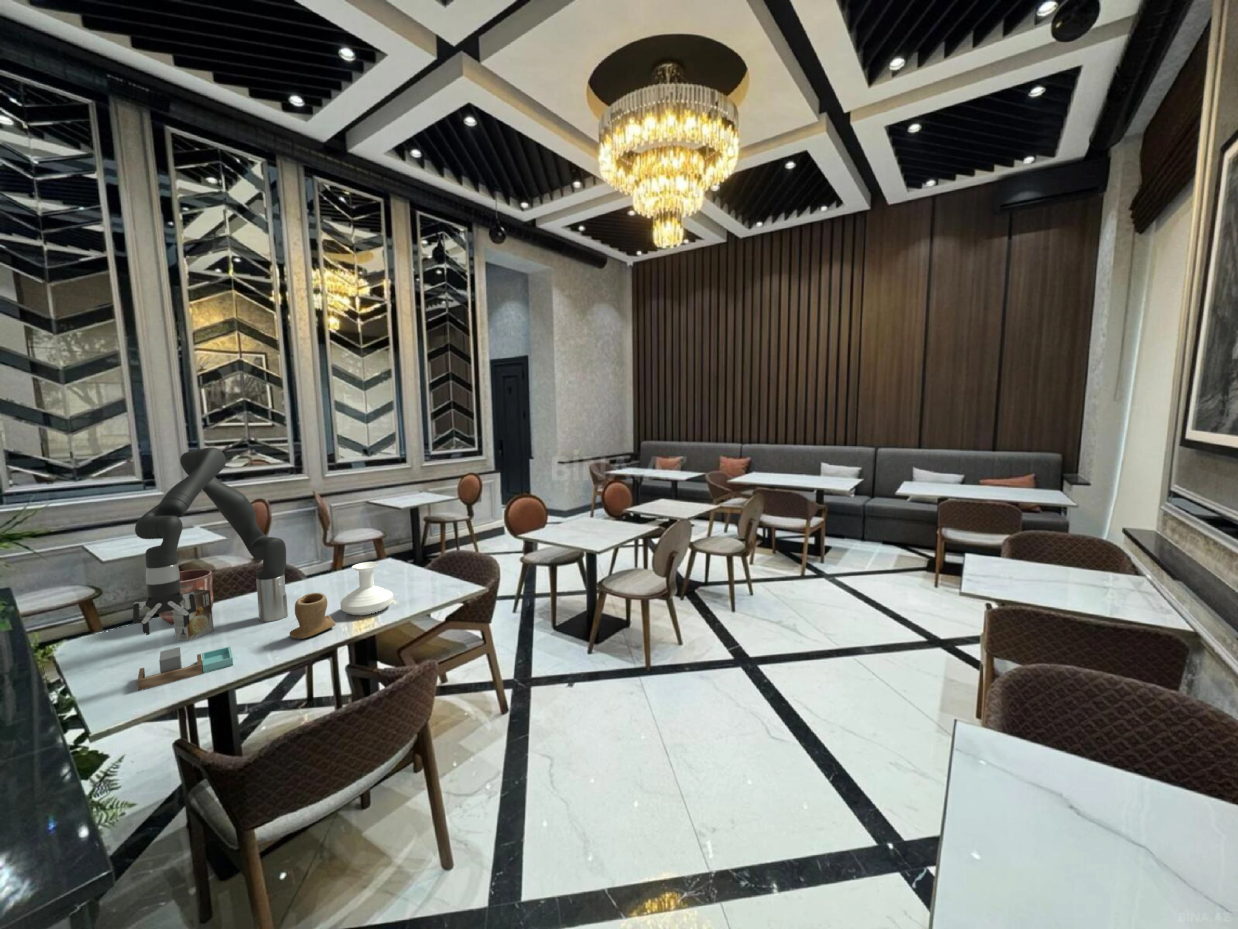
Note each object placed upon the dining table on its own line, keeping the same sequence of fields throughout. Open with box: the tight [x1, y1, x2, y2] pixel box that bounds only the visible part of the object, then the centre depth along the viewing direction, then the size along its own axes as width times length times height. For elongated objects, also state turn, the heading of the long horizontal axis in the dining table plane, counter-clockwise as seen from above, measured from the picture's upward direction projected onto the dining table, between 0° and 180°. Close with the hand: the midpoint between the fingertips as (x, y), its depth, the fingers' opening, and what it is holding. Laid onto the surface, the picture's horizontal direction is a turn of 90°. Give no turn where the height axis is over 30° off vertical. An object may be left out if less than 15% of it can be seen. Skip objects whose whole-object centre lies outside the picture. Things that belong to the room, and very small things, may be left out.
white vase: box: [339, 561, 394, 616], centre depth 203 cm, size 20×20×19 cm
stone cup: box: [289, 592, 337, 640], centre depth 181 cm, size 15×12×15 cm
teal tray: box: [201, 646, 234, 674], centre depth 158 cm, size 7×11×2 cm
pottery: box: [158, 568, 214, 625], centre depth 194 cm, size 18×18×18 cm
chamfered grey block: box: [158, 646, 183, 674], centre depth 151 cm, size 5×8×7 cm, turn 42°
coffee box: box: [173, 589, 215, 642], centre depth 179 cm, size 9×6×16 cm
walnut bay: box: [137, 653, 203, 691], centre depth 150 cm, size 14×10×3 cm
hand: (167, 630), depth 150 cm, fingers open, 8 cm apart
